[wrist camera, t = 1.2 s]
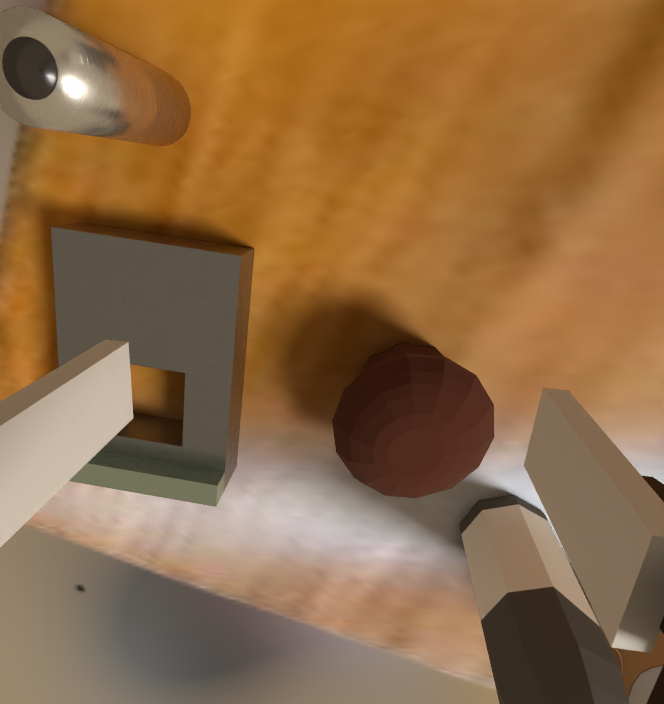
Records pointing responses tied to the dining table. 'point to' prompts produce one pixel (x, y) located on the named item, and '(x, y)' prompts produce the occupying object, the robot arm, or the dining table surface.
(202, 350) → the jig
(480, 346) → the dining table surface
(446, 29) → the dining table surface
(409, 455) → the muffin
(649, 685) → the coffee cup
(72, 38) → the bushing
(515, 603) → the wine bottle
